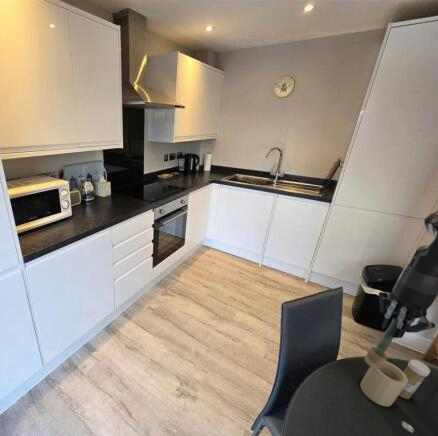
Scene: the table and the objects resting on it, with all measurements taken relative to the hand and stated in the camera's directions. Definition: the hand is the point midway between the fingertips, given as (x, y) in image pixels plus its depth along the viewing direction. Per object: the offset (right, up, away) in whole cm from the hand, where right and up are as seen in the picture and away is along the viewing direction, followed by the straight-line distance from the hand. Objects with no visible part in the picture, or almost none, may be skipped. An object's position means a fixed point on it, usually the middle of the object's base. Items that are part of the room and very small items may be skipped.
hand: (390, 332), depth 71 cm
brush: (-1, -12, +5) cm, 13 cm away
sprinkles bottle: (+16, -26, +12) cm, 33 cm away
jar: (+6, -26, +11) cm, 29 cm away
